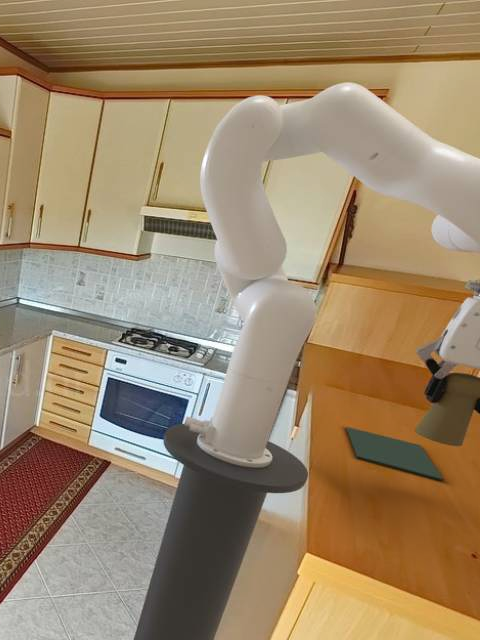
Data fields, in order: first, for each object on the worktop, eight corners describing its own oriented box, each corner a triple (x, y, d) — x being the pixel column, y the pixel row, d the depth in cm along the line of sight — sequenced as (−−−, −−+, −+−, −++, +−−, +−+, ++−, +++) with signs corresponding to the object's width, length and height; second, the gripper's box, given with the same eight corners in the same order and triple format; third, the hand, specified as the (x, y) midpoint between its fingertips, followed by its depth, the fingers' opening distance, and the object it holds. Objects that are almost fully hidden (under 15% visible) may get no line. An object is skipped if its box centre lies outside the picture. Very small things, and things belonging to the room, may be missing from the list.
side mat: (356, 458, 96) (357, 456, 96) (346, 428, 111) (347, 426, 111) (442, 481, 90) (443, 479, 90) (418, 447, 105) (419, 444, 105)
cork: (428, 441, 78) (461, 377, 74) (406, 426, 84) (435, 366, 80) (471, 449, 77) (507, 385, 73) (446, 433, 83) (478, 373, 79)
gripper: (444, 285, 73) (392, 396, 79) (609, 309, 65) (537, 430, 72) (431, 281, 79) (384, 385, 85) (580, 303, 71) (516, 415, 78)
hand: (454, 405), depth 78 cm, fingers closed on cork, 5 cm apart
